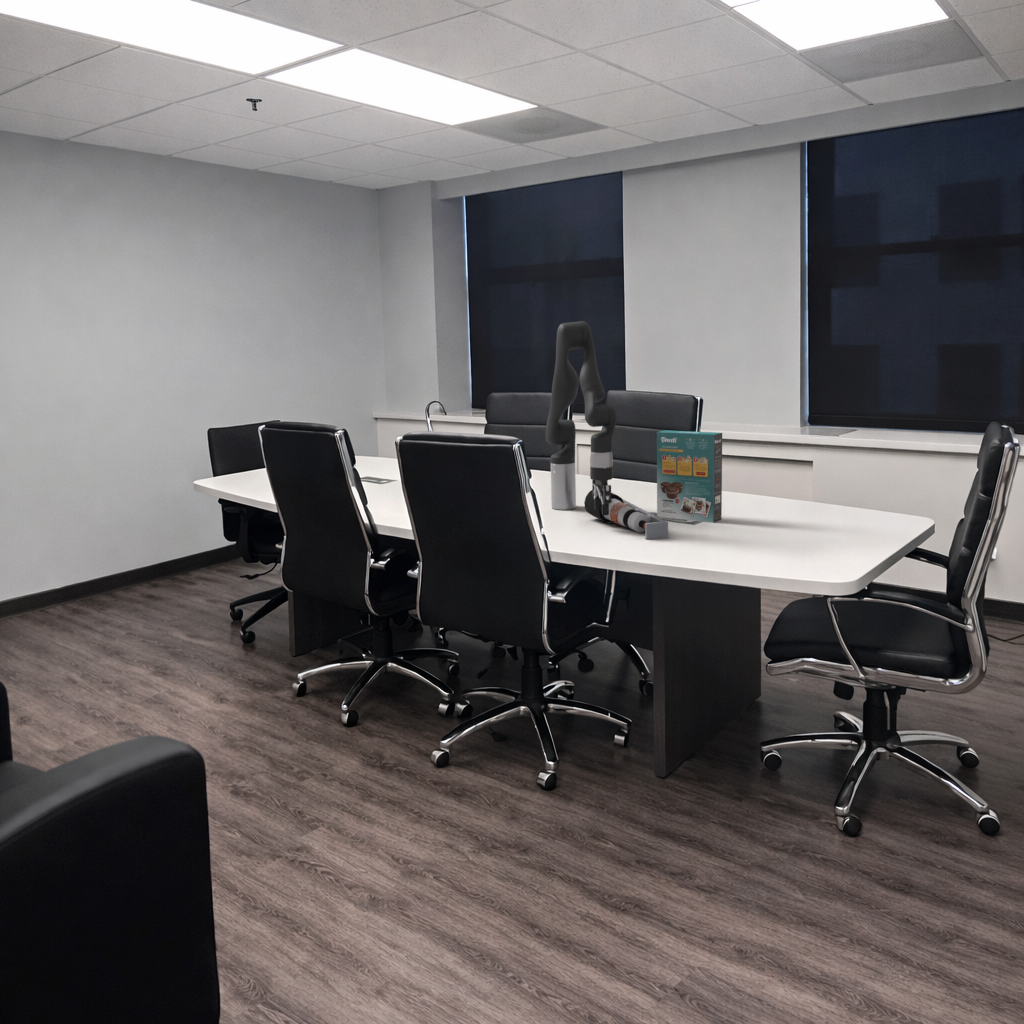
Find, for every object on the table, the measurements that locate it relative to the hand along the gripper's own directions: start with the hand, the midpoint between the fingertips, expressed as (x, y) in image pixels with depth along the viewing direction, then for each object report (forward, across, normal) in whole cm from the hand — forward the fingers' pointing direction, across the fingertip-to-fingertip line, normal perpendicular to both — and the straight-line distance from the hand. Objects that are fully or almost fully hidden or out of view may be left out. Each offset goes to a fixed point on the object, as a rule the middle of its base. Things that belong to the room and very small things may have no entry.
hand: (601, 512), depth 311 cm
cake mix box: (+5, -4, +33) cm, 34 cm away
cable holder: (+5, -2, +11) cm, 12 cm away
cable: (+5, +1, +7) cm, 9 cm away
